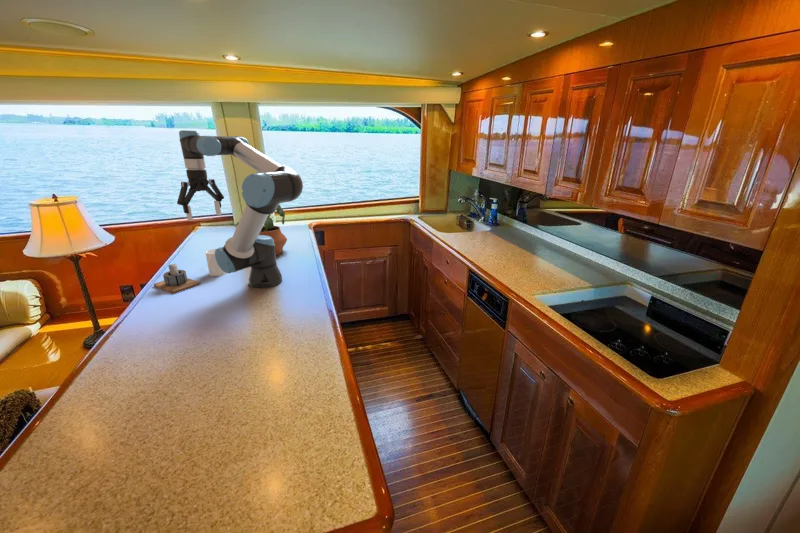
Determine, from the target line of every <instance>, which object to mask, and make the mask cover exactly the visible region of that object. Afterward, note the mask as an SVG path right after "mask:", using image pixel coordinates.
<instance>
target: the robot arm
mask: <svg viewBox="0 0 800 533" xmlns="http://www.w3.org/2000/svg"><path fill="white" fill-rule="evenodd" d="M178 136H179V137H178V138H179V142H180V148H181V152H182V156H183V162H184V166H185V169H186V171H185V172H186V177H187V178H186V179H188V181H181V182H180V185H181V187H180V191H179V194H178V199H177V202H176V204H177V205H179V206H182V210H183V212H184V214H186V220H187V221H190V222H193V221H194V217H193V214H192V208H191V205H189V204H190V202H191V201H192V199H193V197H194V195H195V194H196V192H206V193H207V194H208V195H210V196H211V197H212V199H213V200H214V201H213V204H214V210H215V215H216V216H222V211H221V208H222V203H221V202H222V200H224V199H225V197H224V195H223V193H222V191H221V190H220V189H219V187H218V185H217V184H216V180H215V179H212V178H208V172H207V169H206V168H207V167H206V161H205V157H204V156H207V157H215V156H233V157H235V158H236V159H237V160H239V161H240V162H242V163H244V164H245V165H247V166H248V167H250V168H251V169H253V170H254V171H255V173H250V174H249V175H247V176H246V177H245V178H244V179H243V181H242V184H241V190H242V191H241V195H242V198H243V200H244V202H245V204H246V205H245V208H244V210H243V212H242V214H241V215H240V216H241V217H240V219H239V221H238V222H239V223H238V222H237V223H238V225H236V229H234V232H233V234H232V237H229V238H228V239H227V240H226V241H225V244H224V246H222V247H218V248H215V249H216V250H215V258H216V261H217V264H218V265H219V267H220V268H221V269H222V271H224V272H225V273H226V274H231V273H232V274H233V273H237V272H238V271H242V270H245V269H249V268H250V272H249V278H248V283H249V286H251V287H253V288H259V289H260V288H262V289H263V288H265V289H266V288H270V287H275V286H276V285H277V286H278V284H281V283H282V281H283V276H282V273H281V271H280V269H279V267H278V264H277V255H276V254H275V244H274V240H273V238H272V237H270V236H266V235H259V233H260V231H261V229H262V227H263V226H265V225H264V223H265V221H266V219H267V217H268V216H269V215H270V214H271V215H272V214H274V213H275V212H277V210H276V209H277V207H278V205H280V204H283V203H289V202H293V201H295V200H297V199H298V198H299V197H300V196H301V194H302V193H303V187H304V184H303V181H302V177H301V176H300V174H299V173H298V172H296V171H295V170H294V169H292V168H291V167H289V166H288V165H281V164H280V163H278V162H276V161H275V160H273V159H271V158H270V157H269V156H267V155H265V154H264V153H262V152H260V151H259V150H257V149H256V148H254V147H253V146H251V145H250V143H249V141H248V139H247V138H246V137H243V136H237V135H236V136H223V135H221V136H219V135H218V136H217V135H216V136H215V135H201V134H200V132H199V130H185V129H184V130H183V129H181V130H179V132H178ZM210 187H211V188H210ZM188 188H189V189H188ZM271 215H270V216H271Z"/></svg>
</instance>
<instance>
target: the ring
mask: <svg viewBox="0 0 800 533" xmlns="http://www.w3.org/2000/svg"><path fill="white" fill-rule="evenodd" d="M178 272H179V274H177V275H171V274H170V270H169V271H166V272H164V274H163V275H162V277H163V281H165V285H166V286H169V287H174V286H180V285H183V284H185V283H187V281H188V280H187V278H188V276H187V273H186V270H184V269H178Z"/></svg>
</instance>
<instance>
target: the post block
mask: <svg viewBox="0 0 800 533" xmlns="http://www.w3.org/2000/svg"><path fill="white" fill-rule="evenodd" d="M168 270H169V271H170V274H171V275H177V274H179V272H178V270H179V268H178V265H177V264H176V263H172V264H169V265H168ZM187 280H188V281H187V283H185V284H183V285H180V286H174V287H169V286H166V285H165V281H164V280H161V281H159V282H155V283H153V287H156V288H158V289H159V290H160V289H161V290H163V291H167V292H169V293H171V292H172V293H171V294H174V293H175V294H178V293H181V292H182V290H183V291H185V289H186V290H188V288H189V289H191V287H192V288H194V287H197V286H200V285H201V282H200V281H197V280H195V279H192V278H188V277H187ZM199 284H200V285H199ZM196 285H197V286H196ZM180 291H181V292H180ZM177 292H178V293H177Z"/></svg>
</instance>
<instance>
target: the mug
mask: <svg viewBox="0 0 800 533" xmlns="http://www.w3.org/2000/svg"><path fill="white" fill-rule="evenodd" d="M216 249H217V248H213V249H212V248H210V249H208V250H206V251H205V252H204V253H205V258H206V263H207V267H208V275H209V276H211V277H219V276H223V275H226V274H227V273H225V272H224V271H222V269H221V268H220V267H219V265H218V264H217V261H216V258H215V250H216Z"/></svg>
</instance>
